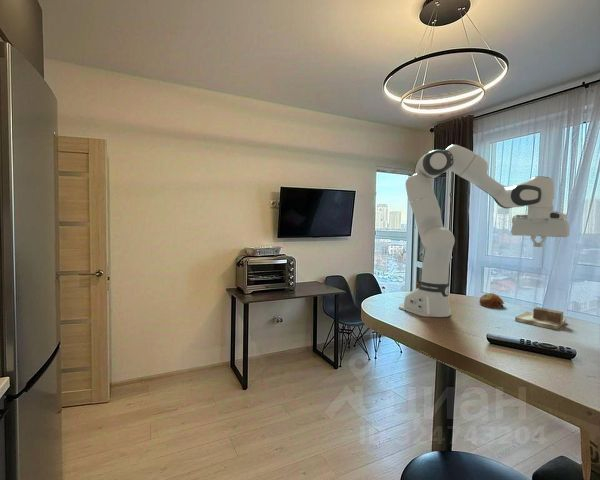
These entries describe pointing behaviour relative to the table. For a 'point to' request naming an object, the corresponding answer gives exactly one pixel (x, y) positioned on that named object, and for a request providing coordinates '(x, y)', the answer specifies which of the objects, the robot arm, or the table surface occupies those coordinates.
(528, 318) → the board
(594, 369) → the table surface
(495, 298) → the bread roll
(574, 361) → the table surface
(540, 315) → the walnut block
